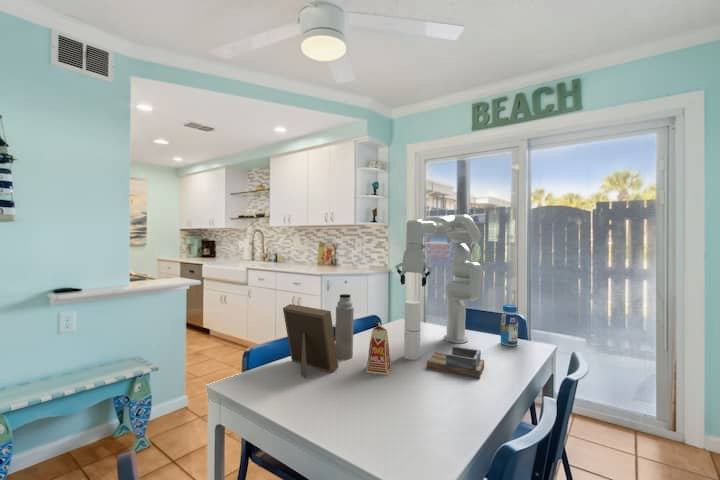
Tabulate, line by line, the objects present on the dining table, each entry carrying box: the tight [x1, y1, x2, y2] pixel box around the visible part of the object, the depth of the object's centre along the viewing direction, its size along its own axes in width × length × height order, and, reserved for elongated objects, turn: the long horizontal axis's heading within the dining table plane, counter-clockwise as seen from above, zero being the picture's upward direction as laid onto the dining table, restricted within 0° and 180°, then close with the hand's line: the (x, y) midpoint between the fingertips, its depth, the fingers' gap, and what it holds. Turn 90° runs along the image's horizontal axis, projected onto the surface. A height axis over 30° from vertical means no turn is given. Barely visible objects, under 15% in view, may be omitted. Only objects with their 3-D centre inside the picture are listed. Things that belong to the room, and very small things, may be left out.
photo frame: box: [282, 303, 339, 379], centre depth 145 cm, size 15×22×25 cm
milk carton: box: [365, 322, 392, 376], centre depth 147 cm, size 9×9×20 cm
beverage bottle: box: [500, 304, 519, 347], centre depth 187 cm, size 8×8×20 cm
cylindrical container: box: [403, 300, 422, 361], centre depth 163 cm, size 7×7×25 cm
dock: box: [426, 346, 485, 379], centre depth 151 cm, size 14×21×7 cm, turn 64°
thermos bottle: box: [334, 293, 355, 361], centre depth 162 cm, size 8×8×28 cm
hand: (413, 285), depth 163 cm, fingers open, 9 cm apart
